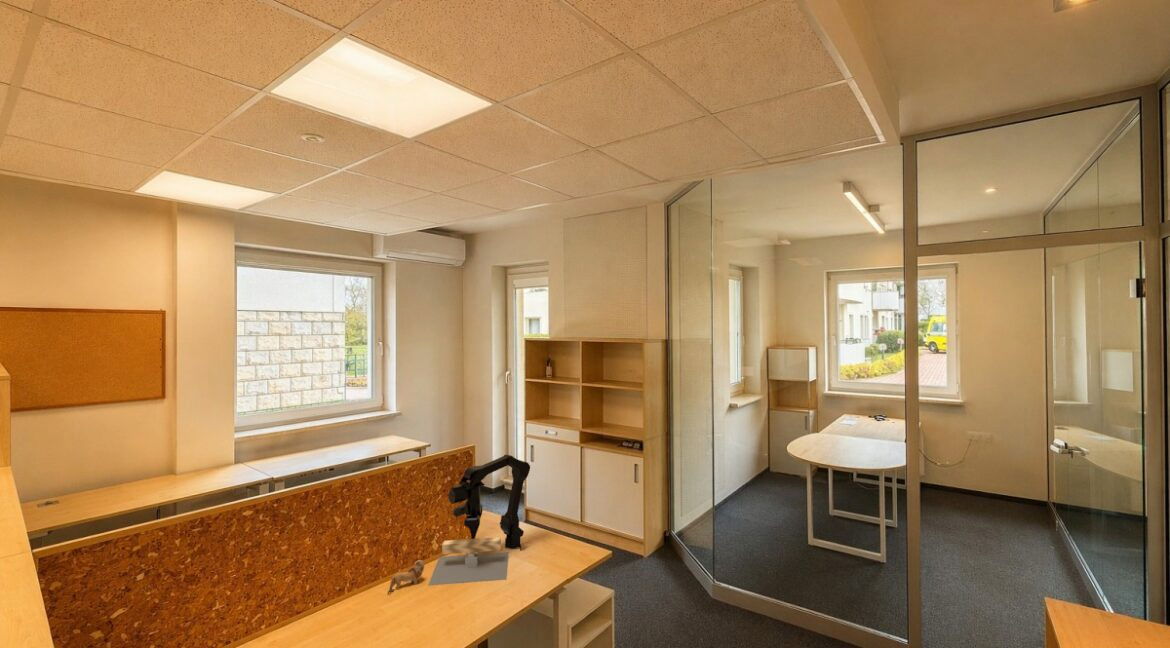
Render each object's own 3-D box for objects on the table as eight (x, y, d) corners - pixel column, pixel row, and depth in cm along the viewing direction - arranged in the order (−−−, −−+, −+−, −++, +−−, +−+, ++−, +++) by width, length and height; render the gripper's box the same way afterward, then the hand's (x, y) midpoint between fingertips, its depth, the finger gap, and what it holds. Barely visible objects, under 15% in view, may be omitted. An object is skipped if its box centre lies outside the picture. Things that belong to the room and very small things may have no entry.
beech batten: (500, 546, 215) (500, 537, 215) (500, 550, 211) (500, 540, 211) (443, 550, 212) (443, 540, 212) (442, 554, 208) (442, 544, 208)
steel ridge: (479, 558, 216) (478, 545, 216) (477, 566, 208) (477, 554, 208) (467, 558, 215) (467, 546, 215) (465, 567, 207) (464, 554, 207)
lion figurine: (421, 579, 200) (420, 556, 200) (427, 584, 196) (426, 561, 197) (384, 593, 190) (384, 569, 190) (390, 598, 186) (390, 574, 186)
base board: (508, 554, 221) (508, 552, 221) (506, 582, 196) (506, 579, 196) (439, 559, 217) (439, 556, 217) (428, 588, 193) (428, 585, 193)
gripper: (456, 492, 222) (457, 527, 222) (451, 506, 204) (452, 545, 203) (482, 490, 224) (483, 525, 223) (479, 504, 205) (479, 542, 205)
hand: (474, 534), depth 214 cm, fingers open, 9 cm apart
